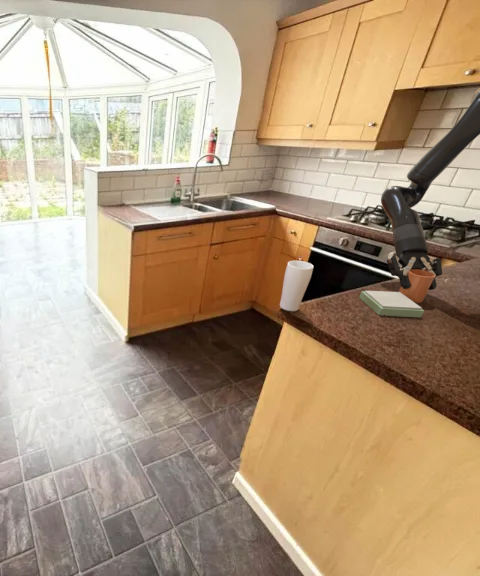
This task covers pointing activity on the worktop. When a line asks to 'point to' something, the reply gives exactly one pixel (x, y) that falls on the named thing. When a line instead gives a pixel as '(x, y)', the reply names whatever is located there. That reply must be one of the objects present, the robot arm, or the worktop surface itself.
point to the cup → (418, 285)
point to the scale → (391, 304)
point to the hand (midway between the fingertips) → (419, 288)
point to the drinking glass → (295, 284)
